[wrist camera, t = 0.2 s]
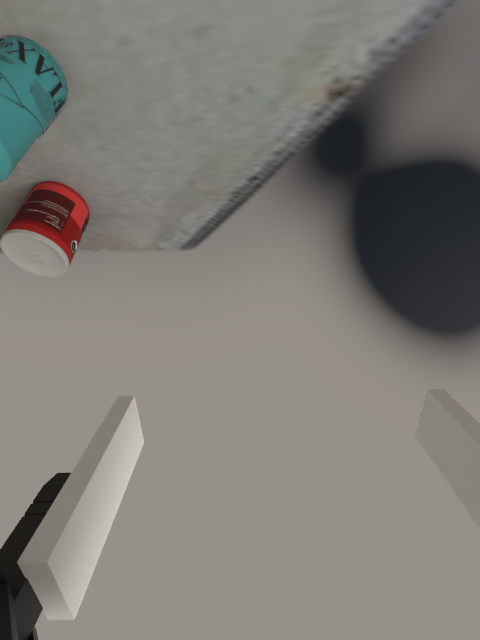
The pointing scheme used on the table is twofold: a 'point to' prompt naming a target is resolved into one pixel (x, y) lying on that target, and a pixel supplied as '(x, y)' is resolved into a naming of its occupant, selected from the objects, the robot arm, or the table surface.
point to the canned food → (46, 230)
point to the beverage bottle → (26, 97)
